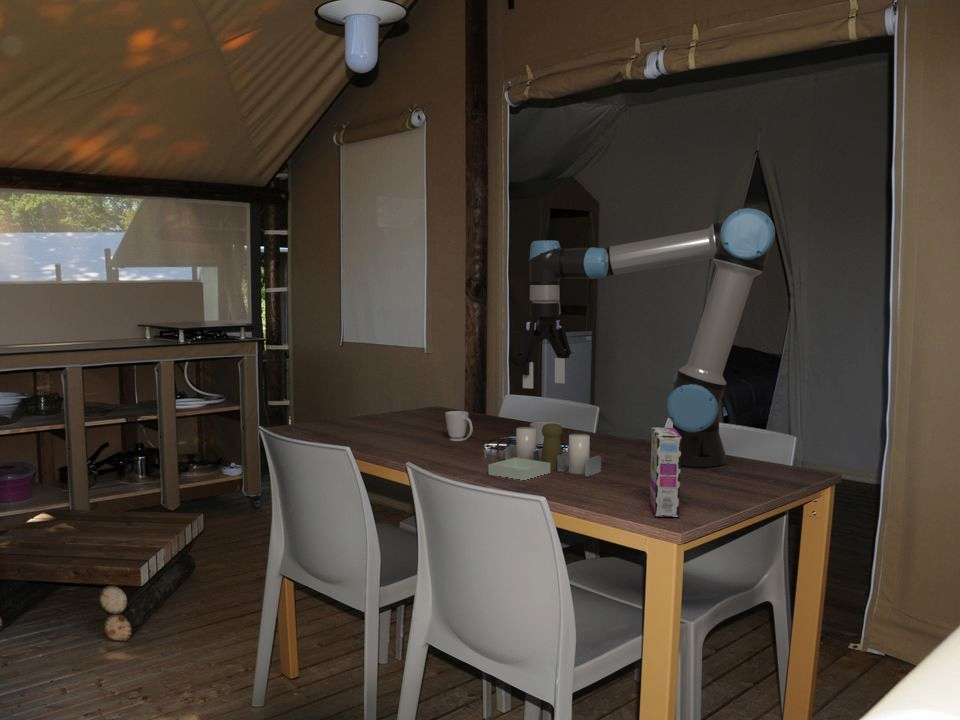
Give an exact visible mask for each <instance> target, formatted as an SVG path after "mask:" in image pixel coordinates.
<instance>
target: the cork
mask: <svg viewBox="0 0 960 720" xmlns="http://www.w3.org/2000/svg"><path fill="white" fill-rule="evenodd" d="M562 427H563V426H562ZM562 427H561V426H560V425H559V424H545V425H544V426H543V427H542V435H543V436H544V441H543V448H542V455H541V462H548V463H550V471H557V455H560V454H563V450H562V449H563V448H562V440H561V437H562V435H563V432H564V431H563V428H562Z"/></svg>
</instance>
